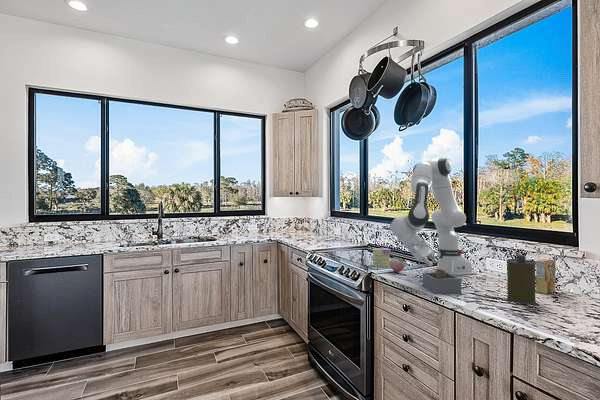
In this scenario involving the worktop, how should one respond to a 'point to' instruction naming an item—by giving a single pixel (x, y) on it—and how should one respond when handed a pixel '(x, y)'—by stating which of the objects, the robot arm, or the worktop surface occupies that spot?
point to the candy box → (545, 276)
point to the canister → (521, 280)
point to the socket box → (442, 283)
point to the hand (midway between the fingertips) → (434, 264)
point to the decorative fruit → (397, 264)
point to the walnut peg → (441, 274)
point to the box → (381, 257)
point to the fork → (411, 263)
